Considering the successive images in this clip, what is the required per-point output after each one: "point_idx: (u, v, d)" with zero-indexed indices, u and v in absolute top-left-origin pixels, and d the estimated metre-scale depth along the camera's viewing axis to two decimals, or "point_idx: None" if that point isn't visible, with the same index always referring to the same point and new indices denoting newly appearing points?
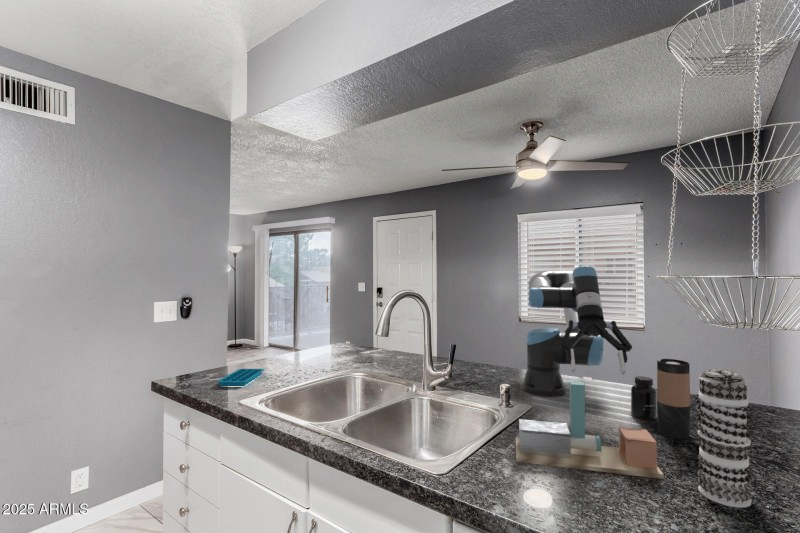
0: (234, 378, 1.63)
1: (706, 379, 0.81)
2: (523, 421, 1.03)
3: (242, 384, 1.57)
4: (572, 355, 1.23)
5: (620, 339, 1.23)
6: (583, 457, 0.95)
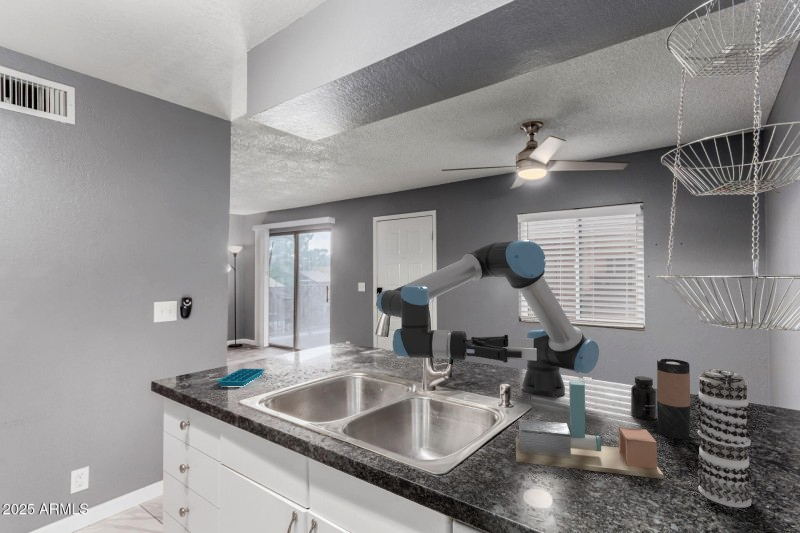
0: (234, 378, 1.63)
1: (706, 379, 0.81)
2: (523, 421, 1.03)
3: (241, 384, 1.57)
4: None
5: None
6: (583, 457, 0.95)
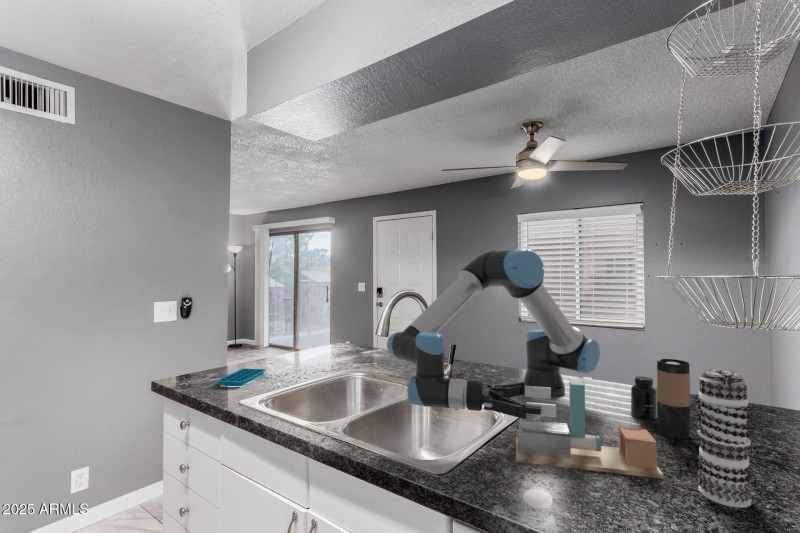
0: (233, 378, 1.63)
1: (706, 379, 0.81)
2: (523, 421, 1.03)
3: (239, 384, 1.57)
4: None
5: None
6: (583, 457, 0.95)
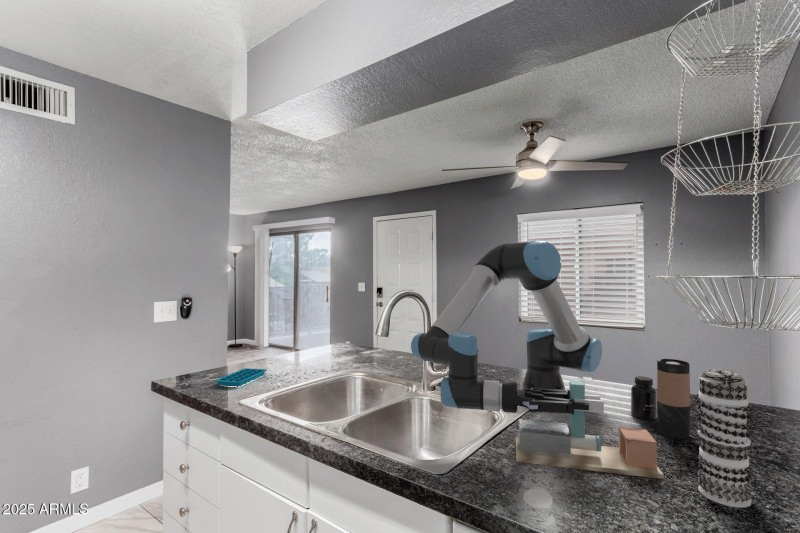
0: (233, 378, 1.63)
1: (706, 379, 0.81)
2: (523, 421, 1.03)
3: (237, 384, 1.57)
4: None
5: None
6: (583, 457, 0.95)
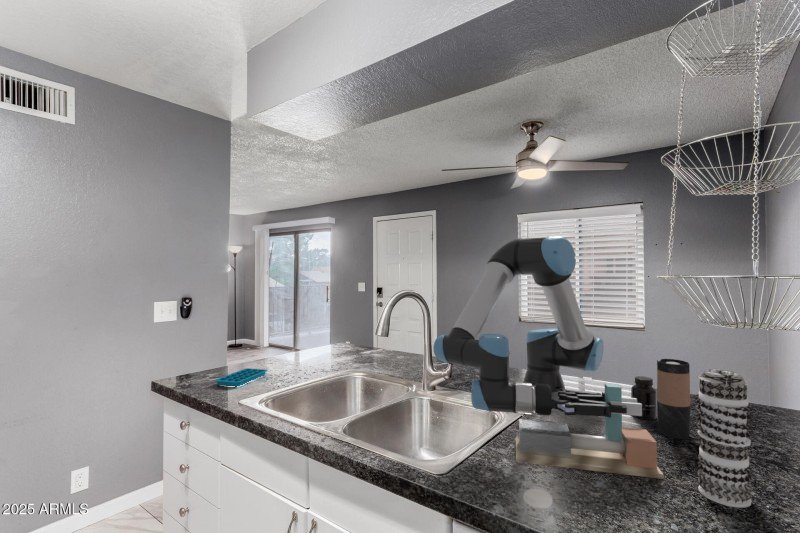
0: (233, 378, 1.64)
1: (706, 379, 0.81)
2: (523, 421, 1.03)
3: (235, 385, 1.57)
4: None
5: None
6: (583, 457, 0.95)
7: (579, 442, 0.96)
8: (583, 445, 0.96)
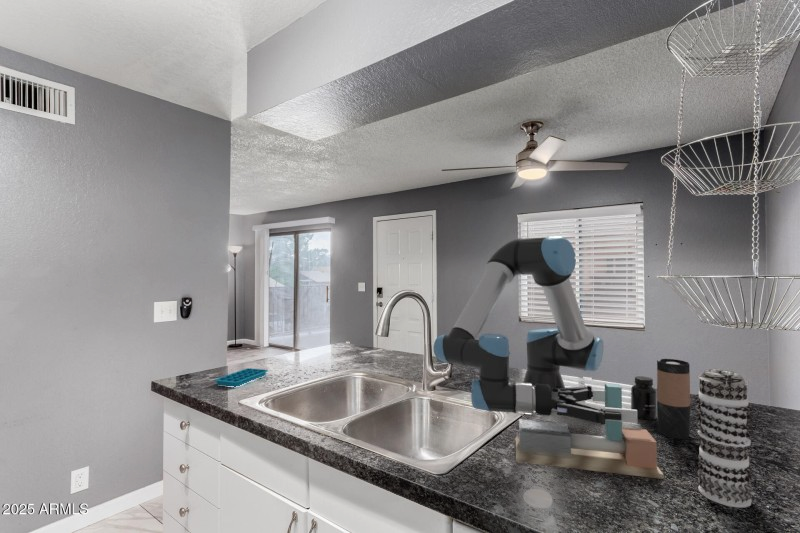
0: (232, 378, 1.64)
1: (706, 379, 0.81)
2: (523, 421, 1.03)
3: (234, 385, 1.57)
4: None
5: None
6: (583, 457, 0.95)
7: (579, 442, 0.96)
8: (583, 445, 0.96)
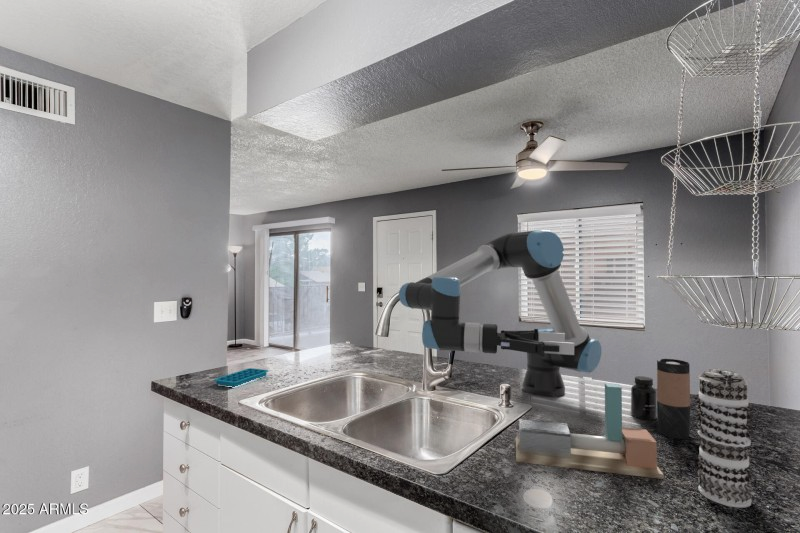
0: (232, 377, 1.64)
1: (706, 379, 0.81)
2: (523, 421, 1.03)
3: (232, 385, 1.57)
4: None
5: None
6: (583, 457, 0.95)
7: (579, 442, 0.96)
8: (583, 445, 0.96)
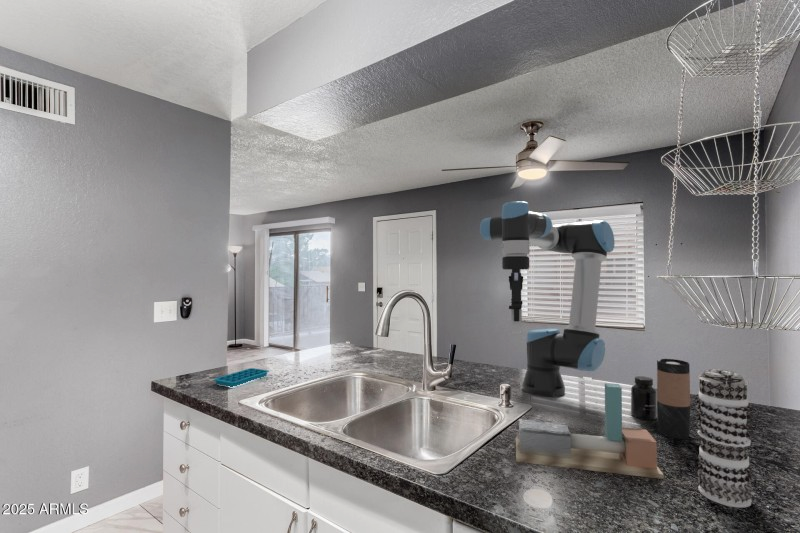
0: (232, 377, 1.64)
1: (706, 379, 0.81)
2: (523, 421, 1.03)
3: (231, 385, 1.57)
4: None
5: None
6: (583, 457, 0.95)
7: (579, 442, 0.96)
8: (583, 445, 0.96)
